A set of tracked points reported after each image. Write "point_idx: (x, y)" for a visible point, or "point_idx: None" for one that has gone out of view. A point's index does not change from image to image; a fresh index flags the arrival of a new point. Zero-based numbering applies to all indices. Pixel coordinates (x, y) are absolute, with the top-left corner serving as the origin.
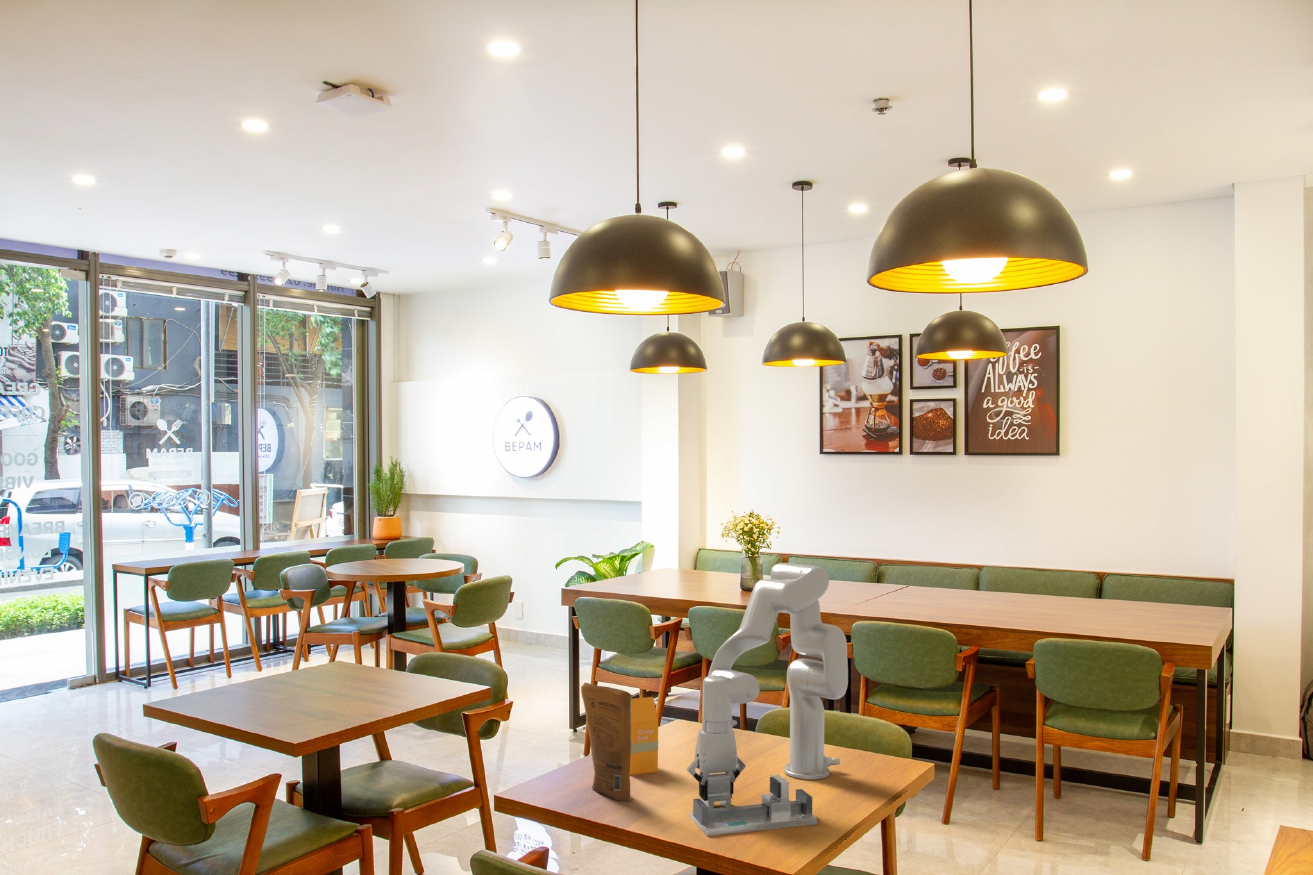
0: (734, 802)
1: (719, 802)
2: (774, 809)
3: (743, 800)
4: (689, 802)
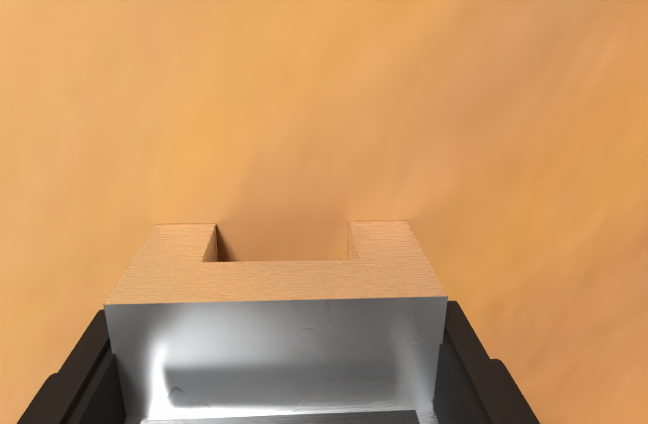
0: (496, 266)
1: (348, 248)
2: None
3: (607, 237)
4: (25, 158)
